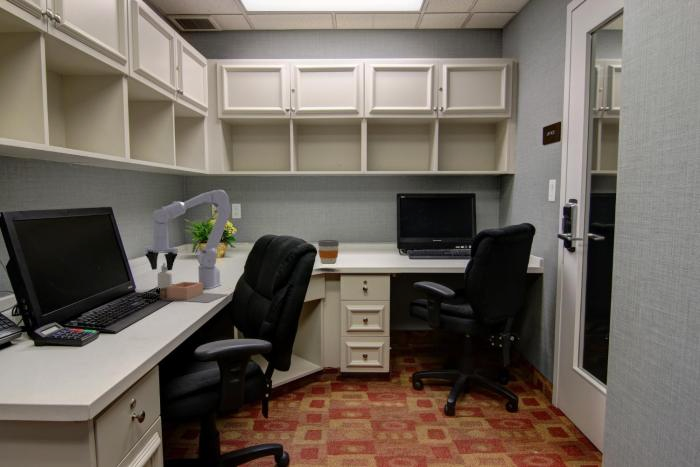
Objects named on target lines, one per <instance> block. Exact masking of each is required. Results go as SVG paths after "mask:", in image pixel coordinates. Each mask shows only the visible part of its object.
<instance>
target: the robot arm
mask: <svg viewBox="0 0 700 467" xmlns="http://www.w3.org/2000/svg"><path fill="white" fill-rule="evenodd" d="M203 203H211V204H212V205H213V206H215V209H216V210H217V215H216V219H215V221H214V223H213V226H212V228H211V231H210V233H209V236H208V239H207V240H206V241H207V242H206V244H205V246H204V247H203V249H202V251H201V252H200V253H199V254H198V255H197V262H198V263H199V266H198V267H197V268H198V283H203V290H204V289H207V290H211V289H214V288H218V287H219V286H222V283H221V272H220V271H221V270H220V269H219V268H218V267H217V266H216V263H217V255H218V247H219V245H220V242H221V239H222V237H223V234H224V231H225V229H226V226H227V223H228V221H229V218H230V216H231V212H232V209H231V204H230V197H229V195H228V194H227V192H226V191H225V190H223V189H214V190H211V191H208V192H207V191H206V192H204V193H200V194H199V195H197V196H194V197H192V198H189V199H188V200H185V201H184V202H182V201H179V200H178V201H176V200H174V201H172V203H171V204H169V205H166V206H164V205H163V206H161V208H159V209H156V210H154V211H153V213H152V216H151V219H152V221H153V227H152V228H153V229H152V230H153V247H145V257H146V258H147V259H148V261H149V264H150V267H151V270H152V271H153V270H154V271H155V270H157V269H158V256H159V254H161V253H162V254H163V253H164V256H165V261H166V262H165V263H166V266H167V270H168V272H170V271H173V268H174V263H175V260H176V258H177V257H178V253H179V252H178V248H174V247H169V246H170V244H169V240H170V239H169V226H168V222H169V221H170V220H172V219H174V218H175V219H176V218H177V217H179V216H182V215H184V214H186V211H187V210H188V209H190V208H193V207H195V206H197V205H200V204H203Z"/></svg>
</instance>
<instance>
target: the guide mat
mask: <svg viewBox="0 0 700 467" xmlns="http://www.w3.org/2000/svg"><path fill="white" fill-rule="evenodd" d="M228 295H229V294H228V293H227V294H226V293H211V292H203V294H201V295H198V296H195V297H192V298H189V299H174V298H166V299H163V300H166V301H176V302H177V301H178V302H179V301H180V302H190V303H191V302H192V303H202V304H203V303H204V304H205V303H206V304H209V303H211V302H214V301H217V300H218V299H221V298H224V297H226V296H228Z"/></svg>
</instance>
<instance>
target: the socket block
mask: <svg viewBox="0 0 700 467" xmlns="http://www.w3.org/2000/svg"><path fill="white" fill-rule="evenodd" d="M203 293H204V289H203V283H199V282H193V281H182V282H178V283H175V284H172V285H171V286H167V298H174V299H189V298H192V297H195V296H198V295H201V294H203Z"/></svg>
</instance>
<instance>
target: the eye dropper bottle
mask: <svg viewBox="0 0 700 467" xmlns="http://www.w3.org/2000/svg"><path fill="white" fill-rule="evenodd" d="M172 275H173V274H172V273H171V272H170V271H168V270H167V263H166V262H163V264H162V265H161V268H160V272H158V273H157V289H158V290H159V288H164V287H167V286H171V285H173V276H172Z"/></svg>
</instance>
